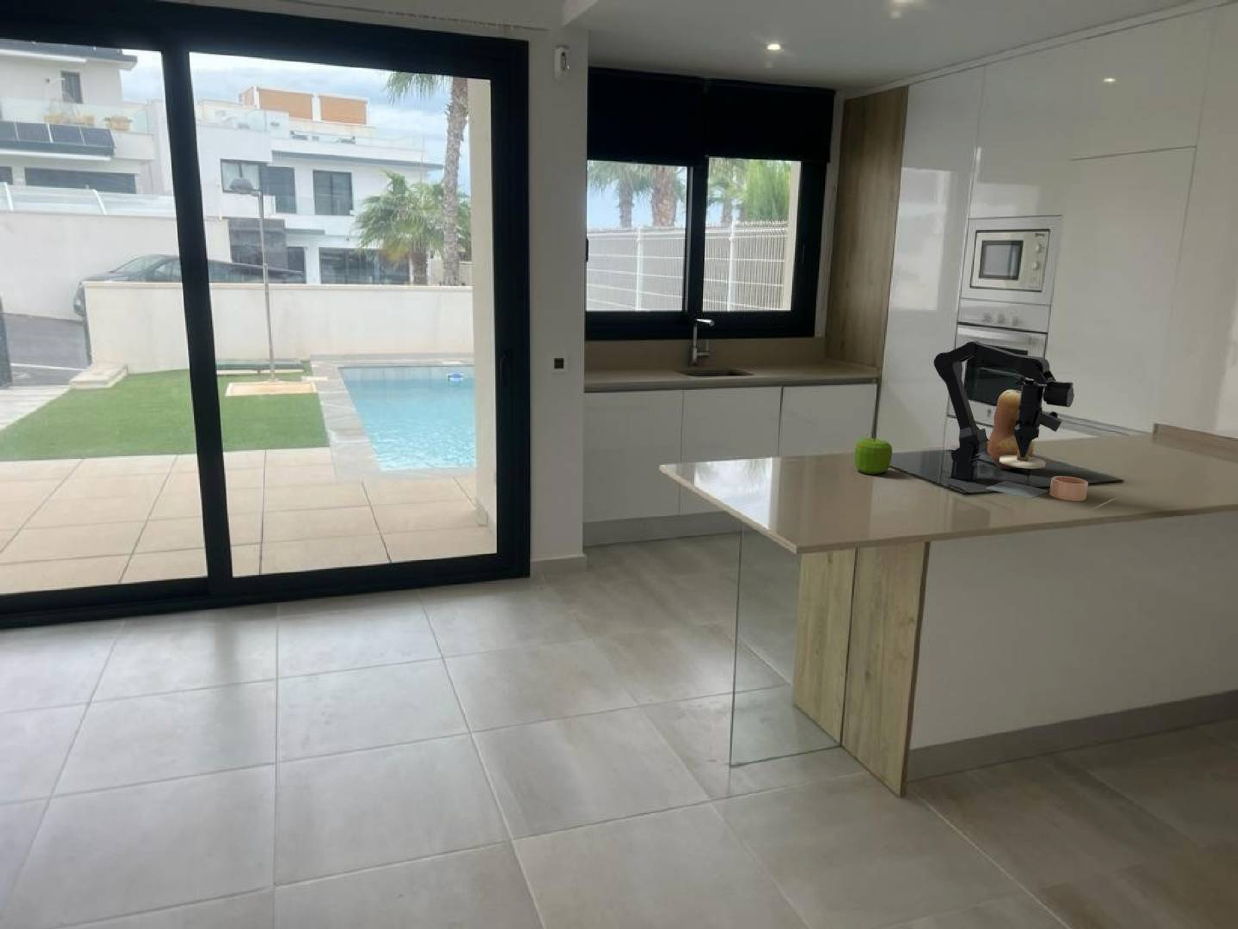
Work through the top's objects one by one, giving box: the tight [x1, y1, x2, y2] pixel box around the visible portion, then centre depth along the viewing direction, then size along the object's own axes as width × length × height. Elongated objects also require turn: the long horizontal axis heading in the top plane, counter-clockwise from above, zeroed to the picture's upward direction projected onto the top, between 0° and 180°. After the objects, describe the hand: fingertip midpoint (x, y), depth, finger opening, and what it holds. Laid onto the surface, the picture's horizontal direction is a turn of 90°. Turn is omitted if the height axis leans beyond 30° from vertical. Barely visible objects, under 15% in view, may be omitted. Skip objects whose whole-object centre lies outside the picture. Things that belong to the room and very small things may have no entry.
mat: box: [985, 480, 1050, 499], centre depth 256 cm, size 13×13×1 cm
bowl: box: [1048, 475, 1089, 502], centre depth 250 cm, size 9×9×5 cm
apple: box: [853, 437, 893, 475], centre depth 271 cm, size 11×11×11 cm
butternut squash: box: [986, 389, 1034, 471], centre depth 279 cm, size 14×13×25 cm
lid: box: [999, 446, 1046, 470], centre depth 253 cm, size 12×12×5 cm
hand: (1022, 456), depth 253 cm, fingers closed on lid, 3 cm apart
